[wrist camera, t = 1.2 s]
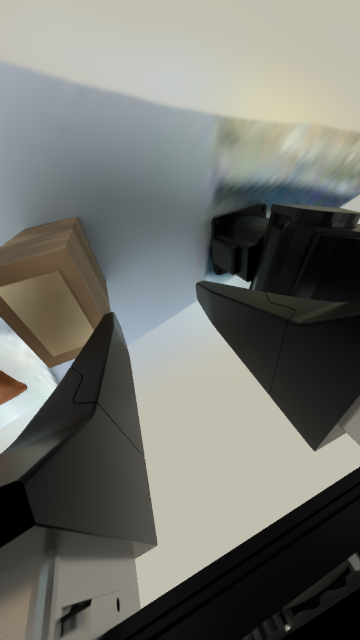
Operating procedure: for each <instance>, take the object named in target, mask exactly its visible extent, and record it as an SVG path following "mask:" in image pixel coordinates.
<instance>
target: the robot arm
mask: <svg viewBox="0 0 360 640" xmlns="http://www.w3.org/2000/svg"><path fill="white" fill-rule="evenodd" d="M261 208H262V210H261ZM266 209H267V207H266V205H265V204H258V205H255V206H251V207H247V208H244V209H240V210H236V211H233V212H229V213H226V214H222V215H218V216H215V217H214V218H213V219H212V237H213V239H212V241H211V243H212V260H213V262H214V272H215V274H217V275H221V274H224V273H227V272H229V273H230V274H232V275H237V276H239V277H240V278H242V279H243V280H245V281H247V282H250V281H251V285H250V288H249V289H246V288H241V287H235V286H230V285H225V284H219V283H214V282H209V281H201V282H198V283H196V292H197V299H198V301H199V303H200V305H201V306H202V308H203V310H204V311H205V313H206V315H207V316H208V318H209V320H210V321H211V323H212V324H213V325H214V326H215V328H216V329H217V330H218V332H219V333H220V334H221V335H222V337H223V338H224V339H225V340H226V342H227V343H228V344H229V345H230V346H231V348H232V349H233V350H234V352H235V353H236V354H237V356H238V357H239V358H240V359H241V360H242V362H243V363H244V364H245V365H246V367H247V368H248V369H249V371H250V372H251V373H252V374H253V375H254V377H255V378H256V379H257V380H258V382H259V383H260V384H261V385H262V387H263V388H264V389H265V390H266V392H267V393H268V394H269V395H270V397H271V398H272V399H273V401H274V402H275V403H276V404H277V406H278V407H279V408H280V409H281V411H282V412H283V413H284V414H285V416H286V417H287V418H288V419H289V421H290V422H291V423H292V424H293V426H294V427H295V428H296V429H297V431H298V432H299V433H300V434H301V436H302V437H303V438H304V439H305V441H306V442H307V443H308V444H309V446H310V447H311V448H312V449H313V450H314V451H317V450H318V449H320V448H322V447H323V446H325V445H327V444H328V443H330V442H332V441H333V440H335V439H337V438H338V437H340V436H342V435H343V434H345V433H347V434H348V435H349V436H350V437H351V438H352V439H353V440H355V441H356V442H357V443H358V444H359V445H360V224H357V223H358V221H359V219H360V212H355V211H351V210H346V209H342V208H333V207H322V206H311V205H291V204H272V206H271V210H270V211H271V214H270V218H266ZM217 219H218V223H217V224H216V220H217ZM219 269H220V271H219V272H218V270H219ZM156 546H157V537H156V531H155V524H154V518H153V510H152V504H151V497H150V490H149V483H148V477H147V470H146V463H145V459H144V450H143V443H142V437H141V430H140V423H139V416H138V409H137V403H136V396H135V389H134V382H133V376H132V369H131V362H130V356H129V352H128V349H127V345H126V342H125V339H124V335H123V332H122V329H121V326H120V324H119V322H118V320H117V318H116V316H115V314H114V312H110V313H107V314H105V315H104V316H103V317H102V319H101V320H100V322H99V324H98V325H97V327H96V328H95V330H94V331H93V333H92V334H91V336H90V337H89V339H88V341H87V342H86V344H85V345H84V347H83V348H82V350H81V351H80V353H79V354H78V356H77V358H76V359H75V361H74V362H73V364H72V365H71V367H70V368H69V370H68V371H67V373H66V374H65V376H64V377H63V379H62V380H61V382H60V383H59V385H58V386H57V387H56V389H55V390H54V391H53V393H52V394H51V395H50V397H49V398H48V400H47V401H46V402H45V403H44V405H43V406H42V407H41V408H40V410H39V411H38V412H37V414H36V415H35V416H34V417H33V419H32V420H31V421H30V423H29V424H28V425H27V426H26V428H25V429H24V430H23V432H22V433H21V434H20V435H19V437H18V438H17V439H16V440H15V441H14V442H13V443H12V444H11V445H10V446H9V447H8V448H7V449H6V450H5V451H4V452H3V453H1V454H0V640H360V467H359V468H357V469H356V470H354V471H353V472H351V473H349V474H348V475H347V476H345V477H343V478H342V479H340V480H339V481H337V482H336V483H334V484H333V485H331V486H329V487H328V488H327V489H325V490H323V491H322V492H320V493H319V494H317V495H316V496H314V497H313V498H311V499H310V500H308V501H306V502H305V503H304V504H302V505H301V506H299V507H297V508H296V509H294V510H293V511H291V512H290V513H288V514H286V515H285V516H283V517H282V518H281V519H279V520H277V521H276V522H274V523H273V524H271V525H270V526H268V527H266V528H265V529H263V530H262V531H261V532H259V533H257V534H256V535H254V536H253V537H251V538H250V539H248V540H247V541H245V542H244V543H242V544H240V545H239V546H237V547H236V548H234V549H233V550H231V551H230V552H228V553H227V554H225V555H223V556H222V557H220V558H219V559H217V560H216V561H214V562H213V563H211V564H210V565H208V566H207V567H205V568H203V569H202V570H200V571H199V572H197V573H196V574H194V575H193V576H191V577H190V578H188V579H187V580H185V581H184V582H182V583H181V584H179V585H178V586H176V587H174V588H173V589H171V590H170V591H168V592H167V593H165V594H164V595H162V596H161V597H159V598H157V599H156V600H154V601H153V602H151V603H150V604H148V605H147V606H145V607H144V608H142V609H141V607H140V599H139V590H138V582H137V574H136V565H135V559H136V558H137V557H139V556H141V555H142V554H144V553H146V552H147V551H149V550H151V549H152V548H154V547H156ZM289 627H290V629H289V630H288V628H289Z"/></svg>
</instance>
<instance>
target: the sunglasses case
mask: <svg viewBox="0 0 360 640" xmlns="http://www.w3.org/2000/svg"><path fill="white" fill-rule="evenodd" d="M26 389H27V386H26V384H23V383H21V382H18V381H17V380H15V379H13V378H12V377H10V376H9V375H7V374H5V373H4V372H2V371H1V370H0V405H1V404H3V403H5V402H7V401H9V400H11V399H12V398H14V397H16V396H18V395H19V394H21V393H22V392H24V391H25V390H26Z"/></svg>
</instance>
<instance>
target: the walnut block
mask: <svg viewBox="0 0 360 640" xmlns="http://www.w3.org/2000/svg"><path fill="white" fill-rule="evenodd" d="M110 312H111V311H110V305H109V299H108V293H107V287H106V281H105V279H104V277H103V274H102V272H101V270H100V268H99V265H98V263H97V261H96V259H95V256H94V254H93V252H92V250H91V248H90V245H89V243H88V241H87V239H86V236H85V234H84V232H83V230H82V228H81V225H80V223H79V221H78V219H77V217H74V218H70V219H65V220H61V221H57V222H53V223H49V224H44V225H40V226H36V227H32V228H28V229H25V230H23V231H22V232H21V233H19V234H18V235H16V236H15V237H14V238H12V239H11V240H10V241H8V242H7V243H6V244H4V245H3V246H2V247H0V317H1V318H2V319H3V320H4V321H5V322H6V323H7V324H8V325H9V326H10V327H11V328H12V329H13V331H14V332H15V333H16V334H17V335H18V336H19V337H20V338H21V339H22V340H23V341H24V342H25V343H26V344H27V345H28V346H29V347H30V348H31V349H32V350H33V352H34V353H35V354H36V355H37V356H38V357H39V358H40V359H41V360H42V361H43V362H44V363H45V364H46V365H47V366H48V367H49V368H51V367H54V366H56V365H59V364H62V363H64V362H67V361H70V360H72V359H75V358H77V356H78V354H79V353H80V351H81V350H82V348H83V347H84V345H85V344H86V342H87V341H88V339H89V337H90V336H91V334H92V333H93V331H94V330H95V328H96V327H97V325H98V324H99V322H100V320H101V319H102V317H103V316H104V315H105V314H107V313H110Z"/></svg>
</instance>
